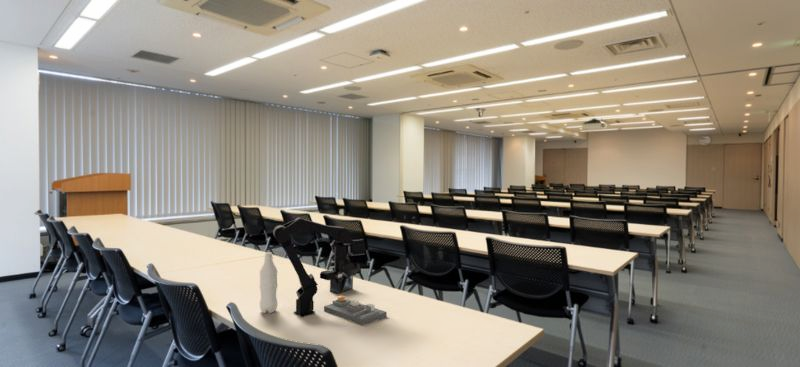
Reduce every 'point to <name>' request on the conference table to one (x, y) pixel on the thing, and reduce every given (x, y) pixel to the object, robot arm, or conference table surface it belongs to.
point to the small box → (347, 286)
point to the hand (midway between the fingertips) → (340, 291)
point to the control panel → (354, 312)
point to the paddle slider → (370, 308)
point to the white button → (355, 303)
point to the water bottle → (268, 285)
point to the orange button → (341, 299)
